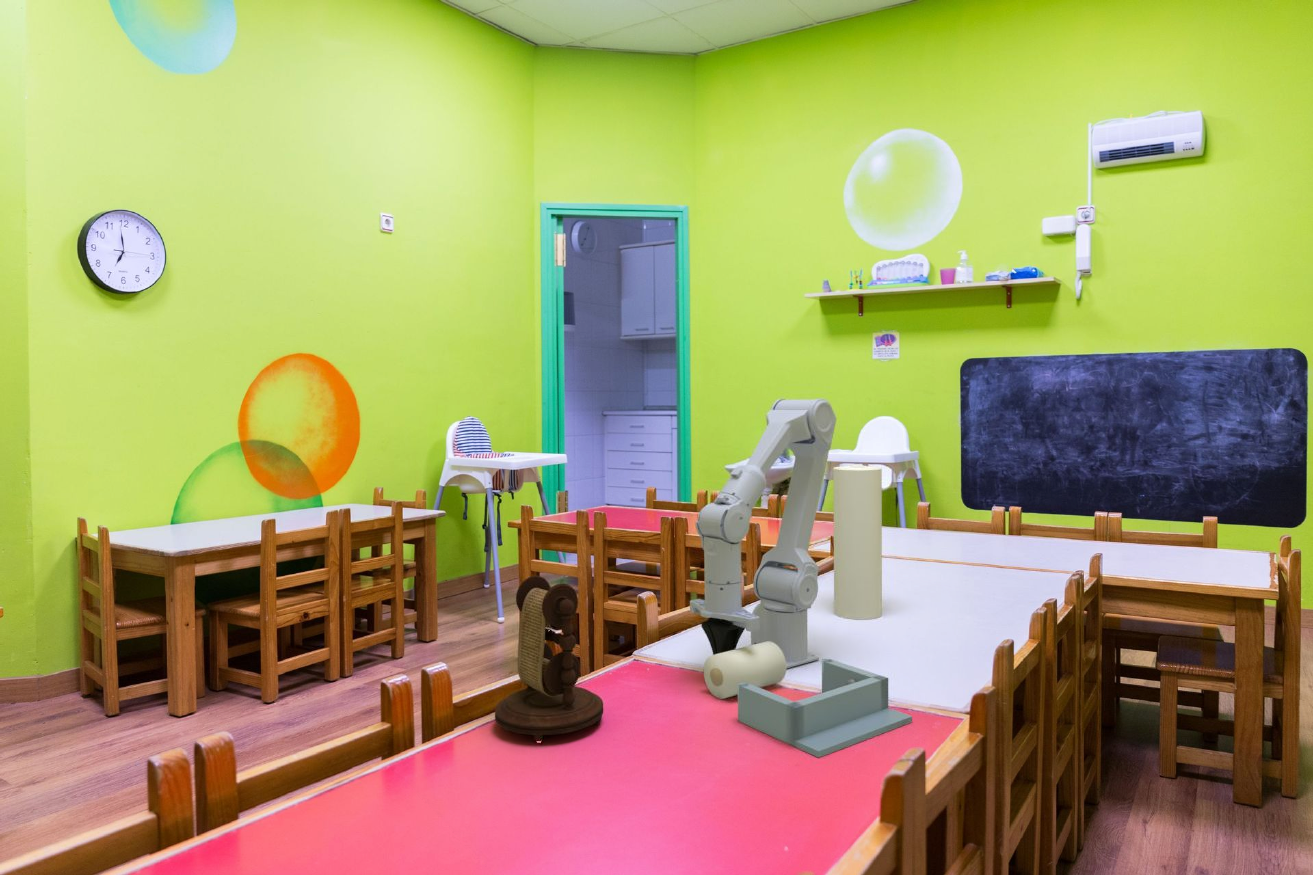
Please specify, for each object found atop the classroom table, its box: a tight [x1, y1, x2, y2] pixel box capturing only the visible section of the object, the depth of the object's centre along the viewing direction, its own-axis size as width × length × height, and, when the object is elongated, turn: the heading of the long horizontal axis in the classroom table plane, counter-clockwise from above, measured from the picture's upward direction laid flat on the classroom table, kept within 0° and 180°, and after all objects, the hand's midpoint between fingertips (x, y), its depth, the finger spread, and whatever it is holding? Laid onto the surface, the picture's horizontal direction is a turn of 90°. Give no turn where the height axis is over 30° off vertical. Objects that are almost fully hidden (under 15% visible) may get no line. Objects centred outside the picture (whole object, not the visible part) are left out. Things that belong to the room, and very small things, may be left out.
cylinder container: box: [832, 464, 883, 621], centre depth 170 cm, size 9×9×30 cm
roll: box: [703, 641, 787, 700], centre depth 128 cm, size 12×6×6 cm
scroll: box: [494, 575, 604, 742], centre depth 115 cm, size 15×15×20 cm
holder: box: [737, 658, 913, 758], centre depth 115 cm, size 15×18×5 cm
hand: (723, 666), depth 132 cm, fingers closed
